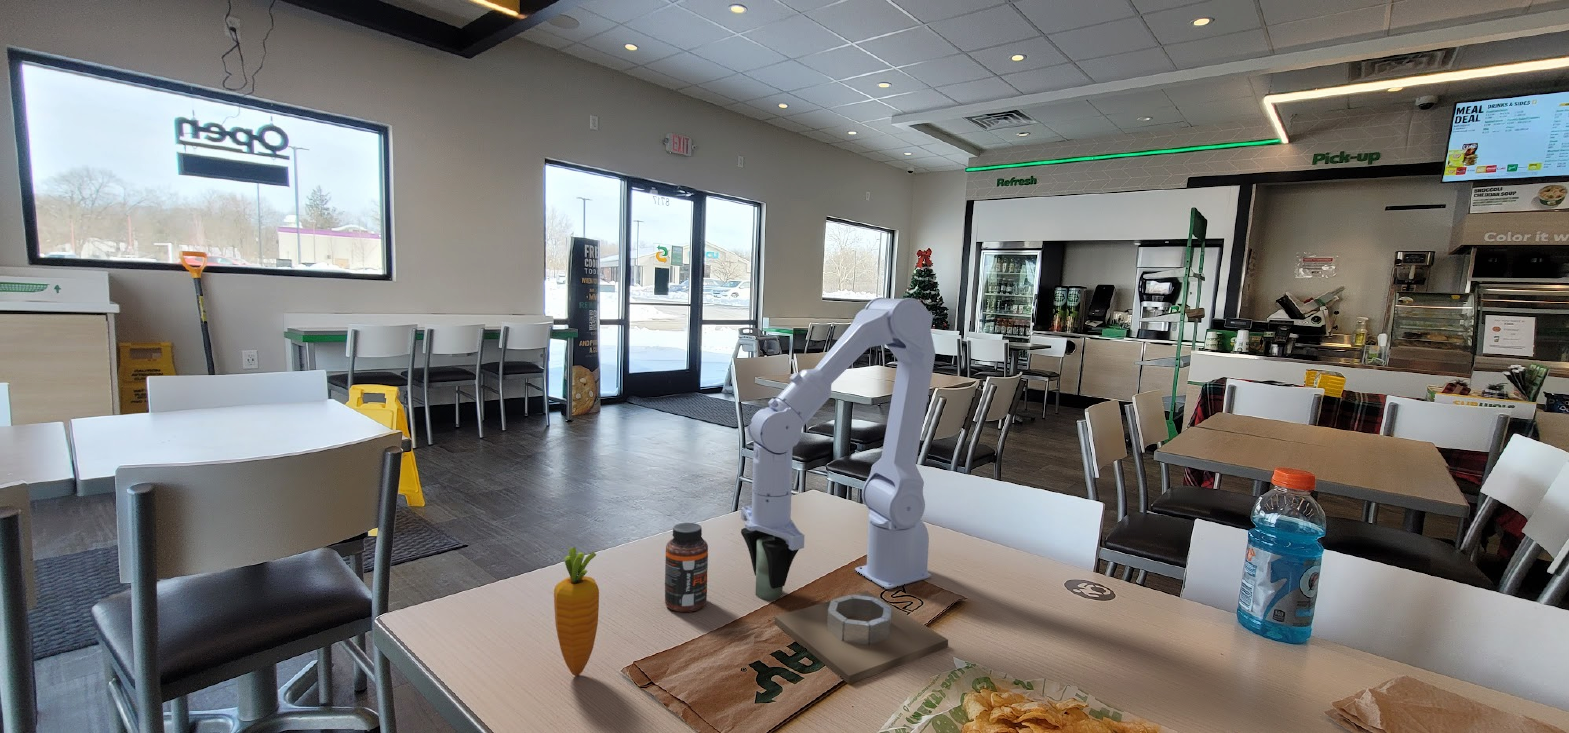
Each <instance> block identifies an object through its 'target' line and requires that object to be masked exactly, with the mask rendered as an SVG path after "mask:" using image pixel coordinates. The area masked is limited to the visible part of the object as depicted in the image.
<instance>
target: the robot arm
mask: <svg viewBox="0 0 1569 733" xmlns="http://www.w3.org/2000/svg"><path fill="white" fill-rule="evenodd" d="M933 319H934V317H933V315H932V314H931V312H930V311H929V309H927V308H926V306H925V305H924V304H923V302H921V300H918V299H917V298H913V297H905V298H886V297H882V296H881V297H876V298H872V299H871V300H870V301H868V303H867V304H866V306H865V307H864V308H863V309H861V310H860V311H859V312H857V313H856V314H855V317H854V318H853V321H852V323H850V325H849V326H848V328H846V330H845V332H844V333H843V334H842V335H840V337H839V338H838V339H837V341H836V342H835V343H834V344H833V346H832V347H831V348H830V349H829V350H828V352H827V353H826V354H825V355H824V356H823V357H822V359H821V360H820V361H819V362H818V364H817V365H816V366H815V367H814V368H811V369H808V368H807V369H802V370H800V372H794V373H793V374H791V376H789V380H790V382H789V383H788V385H787V386H786V387H785V388H784V389H783V390H782V391H781V392H780V393H779V394H777V396H776V397H775V398H771V399H770V400H769V401H768V402H767V405H769V407H767V406H766V407H764V408H761V409H759V410H758V411H757V412H755V413H754V415H753V416H752V418H751V419H750V420H751V421H750V423H749V425H747V433H748V436H749V438H750V439H751V440H752V441H753V458H752V483H751V484H752V486H751V487H752V488H751V489H752V491H751V492H752V494H751V505H747V506H742V507H741V508H740V510H741V511H740V520H742V521H744V522H745V523H744V527H743V528H741V531H740V533H741V536H742V537H743V540H744V541H745V544H746V546H747V548H748V552H749V556H750V560H751V566H752V569H753V570H752V571H753V574H754V576H755V577H756V556H757V540H758V539H759V538H762V537H774V540H770V541H765V542H762V546H763V548H764V551H765V554H766V557H767V562H768V570H769V582H770V586H771V588H773V589H775V588H779V587H786V586H785V585H786V582H787V579H788V575H789V571H790V569H791V566H792V563H793V561H794V559H795V557H796V555H797V553H798V552H799V550H801V549H804V548H805V534H804V533H802V532H801V531H800V530H799V528H798V527H797V525H796V524H795V523H794V522H793V520H792V516H791V515H792V514H791V512H792V483H793V482H792V481H793V448H794V447H796V446H798V444H799V441H800V439H801V434H802V429H803V427H804V426H806V424H807V423H808V422H809V421H810V419H812V418H813V416H814V415H816V413H817V412H818V411H819V410H820V409H821V408H822V407H823V405H825V403H826V402H827V401H828V400H829V399H830V398H831V396H832V384H833V383H834V382H835V381H836V380H838V378H839V377H840V376H841V375H842V374H843V373H844V372H846V370H847V369H849V367H850V366H852V364H854V362H856V361H857V360H858V359H859V357H861V356H862V355H863V354H864V353H865V352H866V351H867V350H868V349H870V348H873V347H878V346H884V345H885V346H886V347H887V348H888V350H890V352H891V353H892V354H893V356H894V357H895V358H896V360H897V367H896V370H895V377H894V383H893V388H892V395H891V401H890V406H889V412H888V416H887V417H888V418H887V422H886V429H885V434H884V440H883V446H882V450H881V451H882V452H881V457H880V458H879V459H878V460H877V461H875V462H874V463H873V464H872V466H871V468H870V469H871V470H870V473H869V476H868V477H867V479H866V480H865V482H864V484H863V486H862V488H861V489H862V490H861V498H862V502H863V504H864V505H865V506H866V507H867V508H868V512H867V515H868V524H867V526H868V527H867V531H868V532H867V550H866V551H867V554H866V564H865V565H861V566H856V567H855V568H854V571H855V570H856V571H857V572H856V571H855V572H856V573H858V572H859V573H860V574H859V573H858V574H859V575H861V574H862V575H861V576H863V577H864V576H865V577H864V578H866V579H868V580H869V581H871V580H872V581H871V582H873V583H874V584H876V585H878V586H880V587H882V588H883V587H884V588H883V589H885V590H891V589H894V588H897V586H898V587H901V586H904V584H905V585H909V584H911V583H915V582H919V581H921V580H925V579H929V578H930V577H931V576H932V574H931V573H930V572H928V562H929V543H930V541H929V540H930V537H929V532H928V528H927V526H926V524H925V523H924V522H923V521H922V518H923V516H924V513H925V510H926V503H925V502H926V501H925V497H924V484H925V483H924V482H925V481H924V479H923V477H922V475H921V473H920V470H919V469H918V467H917V466H918V465H917V460H918V455H919V449H920V444H921V438H922V437H921V436H922V431H923V427H924V426H923V425H924V421H925V415H926V410H927V404H928V398H929V394H930V387H931V381H932V376H933V370H934V364H935V359H936V358H935V357H936V350H935V344H934V340H933V334H932V325H933ZM860 568H862V569H860Z"/></svg>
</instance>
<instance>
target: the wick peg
mask: <svg viewBox="0 0 1569 733" xmlns="http://www.w3.org/2000/svg"><path fill="white" fill-rule="evenodd" d="M770 540H774V537H762V538H759V539H758V540H757V556H756V576H755V596H756V597H757V598H759V599H761V600H766V601H772V600H778V599H780V598H782V597H783V594H784V593H783V592H784V591H783V587H784V586H783V587H779V588H775V589H773V588H771V586H770V582H769V570H768V562H767V557H766V554H765V551H764V548H763V546H762V542H765V541H770Z"/></svg>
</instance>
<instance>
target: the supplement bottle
mask: <svg viewBox="0 0 1569 733" xmlns="http://www.w3.org/2000/svg"><path fill="white" fill-rule="evenodd" d="M702 532H703V531H702V525H700V524H699V523H696V522H695V523H694V522H681V523H680V522H679V523H677V524H675V525H673V527H672V537H673V538H672V539H670V540H669V541H667V543H666V546H665V560H664V561H665V562H664V563H665V570H664V571H665V572H664V573H665V574H664V576H665V577H664V578H665V580H664V603H665V606H666V607H667V608H668V609H670V610H672V611H674V612H675V611H676V612H681V613H689V612H695V611H698V610H700V609H702V607H704V606H705V605H706V604H707V598H708V567H709V564H708V562H709V546H708V542H707V540H705V539H704V538H703V537H702V535H703V534H702Z"/></svg>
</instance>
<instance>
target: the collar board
mask: <svg viewBox="0 0 1569 733" xmlns="http://www.w3.org/2000/svg"><path fill="white" fill-rule="evenodd" d="M850 595H851V596H852V595H859V596H867V597H874V598H877V599H878V600H880V601H882V602H883V603H885V604H887V605H888V606H890V607H891V627H890V636H889V638H888V639H886V640H883V641H880V642H877V643H874V644H871V645H870V644H868V645H865V644H858V643H850V642H844V640H843V641H841V640H840V639H839V638H837V637H836V636H835V635H833V634H832V633H831V632H829V631H828V629H827V619H828V609H829V606H830V602H831V601H832V600H833V599H832V600H829V601H828V600H827V601H825V602H821V603H818V604H815V605H811V606H807V607H803V608H800V609H796V610H793V611H790V612H789V611H788V612H785V613H782V614H778V615H775V616H774V624H775V625H776V626H777V627H778V628H779V629H781V631H783V630H784V631H785V632H784V631H783V632H784V633H786V635H788V634H789V635H790V636H789V635H788V636H789V637H791V638H792V639H793V640H794V641H795V642H796V643H798V644H799V645H800V646H801V645H802V648H804V649H805V648H806V649H807V650H806V649H805V650H806V651H808V652H809V653H810V654H811V655H813V656H814V658H816V659H817V660H819V661H820V663H822V664H823V663H824V666H826V667H827V668H828V667H829V670H831V671H832V672H833V671H834V672H835V673H834V672H833V673H834V674H835V675H837V674H838V675H840V676H841V677H842V678H843V679H842V678H841V677H840V678H841V679H842V680H843V681H844V682H845V683H847V684H848V685H851V684H854V683H857V682H859V681H861V680H863V679H867V678H868V677H872V676H874V675H877V674H880V673H882V672H885V671H888V670H891V669H893V668H895V667H898V666H901V665H904V664H906V663H907V664H908V663H909V662H911V661H914V660H917V659H920V658H922V657H925V656H928V655H930V654H933V653H935V652H938V651H941V650H943V649H946V648H948V647H949V646H948V644H949V639H948V638H946V637H944V636H943V635H941V634H939V633H938V632H936V631H934V630H933V629H931V628H930V627H928V626H926V625H925V624H923V623H922V622H919V621H918V620H917V619H915V618H913V617H912V616H910V615H908V614H907V613H905V612H903V611H901V610H900V609H898V608H896V607H895V606H893V605H891V604H890V603H889V602H886V601H885V600H883V599H881V598H880V597H879V596H877V595H875V594H873V593H871V592H870V591H869V590H862V591H860V592H855V593H852V594H850ZM846 618H847V619H851V620H859V621H866V622H868V621H871V620H873V619H871V618H866V617H858V616H850V617H846ZM838 675H837V676H838Z"/></svg>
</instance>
